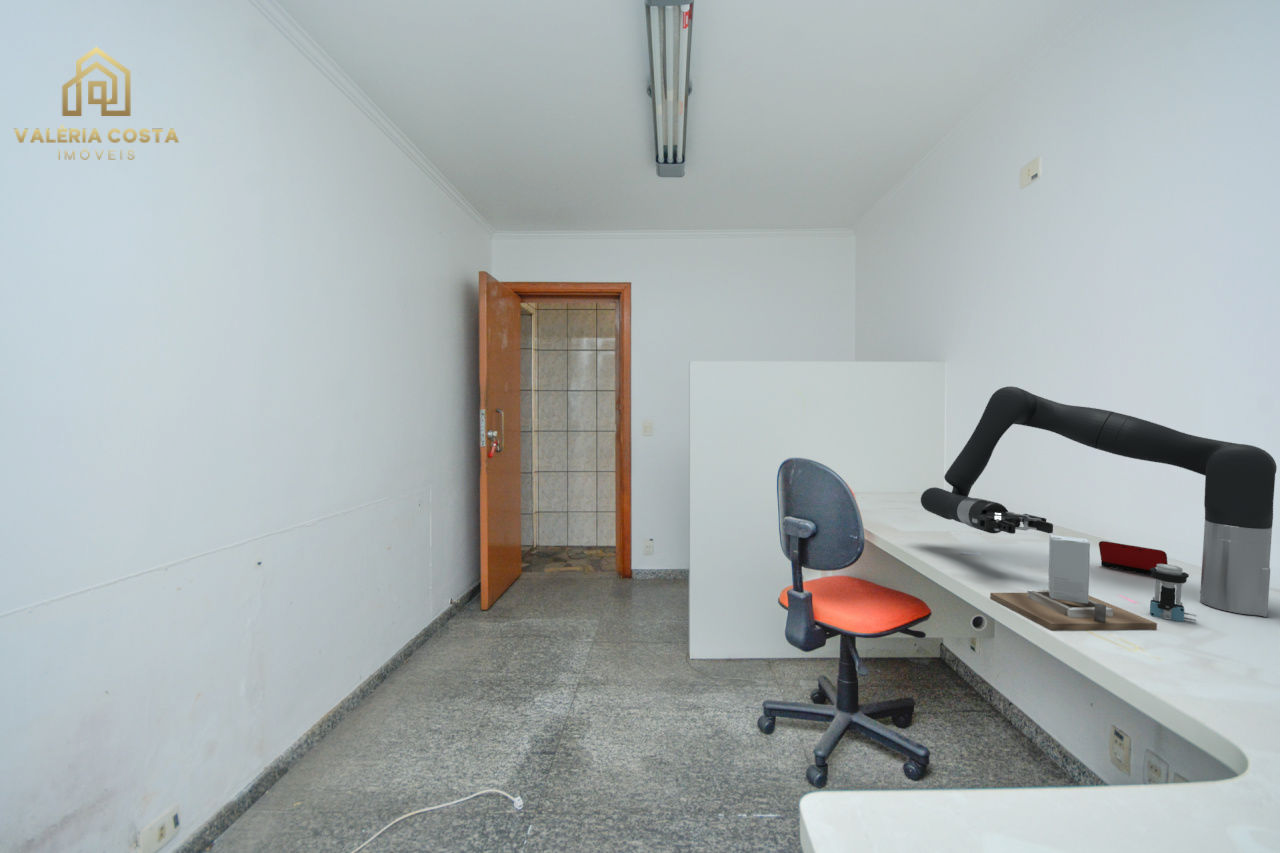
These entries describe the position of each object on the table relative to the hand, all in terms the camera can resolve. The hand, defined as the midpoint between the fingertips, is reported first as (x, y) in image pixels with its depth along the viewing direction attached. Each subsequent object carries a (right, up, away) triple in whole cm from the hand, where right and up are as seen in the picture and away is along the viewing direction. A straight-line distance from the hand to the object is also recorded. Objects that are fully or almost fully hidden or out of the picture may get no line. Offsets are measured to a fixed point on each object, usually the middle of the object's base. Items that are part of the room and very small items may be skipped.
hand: (1032, 528), depth 119 cm
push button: (+16, -15, -14) cm, 26 cm away
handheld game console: (+37, -14, +17) cm, 43 cm away
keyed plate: (-2, -14, -12) cm, 19 cm away
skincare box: (-2, -12, -12) cm, 17 cm away
